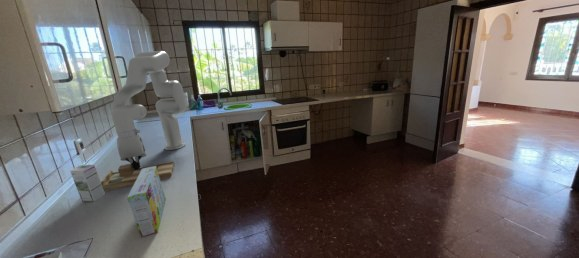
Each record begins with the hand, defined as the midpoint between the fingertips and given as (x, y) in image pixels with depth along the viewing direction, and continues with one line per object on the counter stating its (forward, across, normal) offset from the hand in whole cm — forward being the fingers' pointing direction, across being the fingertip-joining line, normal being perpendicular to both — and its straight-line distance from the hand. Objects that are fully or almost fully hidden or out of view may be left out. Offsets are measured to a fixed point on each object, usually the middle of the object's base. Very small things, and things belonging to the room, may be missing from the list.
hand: (137, 169), depth 115 cm
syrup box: (+4, +14, +15) cm, 21 cm away
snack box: (+4, -13, +40) cm, 43 cm away
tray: (+4, -2, +3) cm, 5 cm away
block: (+2, +5, 0) cm, 5 cm away
